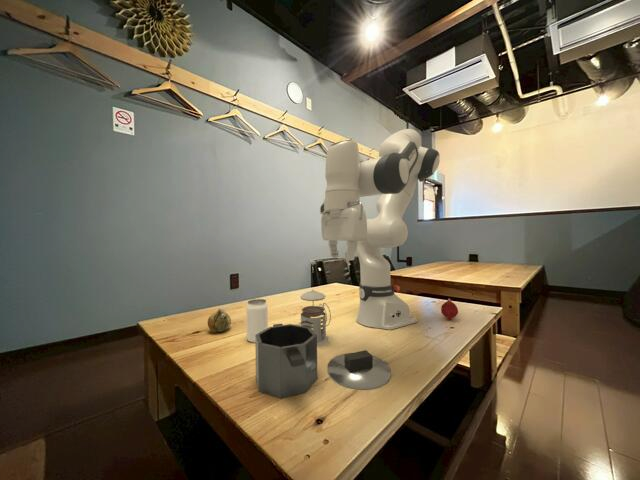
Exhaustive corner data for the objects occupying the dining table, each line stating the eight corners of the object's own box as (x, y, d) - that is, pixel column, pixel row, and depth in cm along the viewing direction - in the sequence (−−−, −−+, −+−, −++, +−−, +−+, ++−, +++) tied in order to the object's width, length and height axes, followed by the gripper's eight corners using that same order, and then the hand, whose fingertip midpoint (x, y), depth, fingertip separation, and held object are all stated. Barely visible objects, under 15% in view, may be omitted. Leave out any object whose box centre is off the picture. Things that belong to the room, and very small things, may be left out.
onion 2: (461, 322, 92) (461, 301, 92) (445, 322, 93) (445, 301, 92) (453, 317, 98) (453, 297, 98) (438, 317, 98) (438, 297, 98)
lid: (368, 353, 70) (368, 338, 70) (404, 382, 56) (404, 364, 56) (318, 363, 64) (318, 347, 64) (344, 398, 50) (344, 378, 50)
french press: (314, 331, 85) (313, 258, 85) (339, 341, 77) (339, 260, 76) (291, 339, 78) (290, 260, 78) (316, 352, 70) (316, 263, 69)
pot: (301, 353, 69) (301, 317, 69) (330, 399, 50) (329, 349, 49) (252, 362, 64) (252, 323, 64) (263, 416, 45) (262, 361, 45)
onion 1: (236, 327, 89) (236, 305, 89) (222, 336, 82) (222, 311, 81) (217, 325, 91) (217, 304, 91) (202, 334, 83) (202, 310, 83)
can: (262, 344, 75) (262, 304, 75) (243, 342, 76) (242, 303, 76) (271, 335, 82) (270, 299, 81) (252, 334, 83) (252, 298, 83)
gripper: (374, 199, 55) (374, 261, 55) (337, 209, 74) (337, 255, 74) (349, 197, 53) (348, 262, 53) (317, 208, 72) (317, 256, 72)
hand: (341, 258), depth 64 cm, fingers open, 8 cm apart
